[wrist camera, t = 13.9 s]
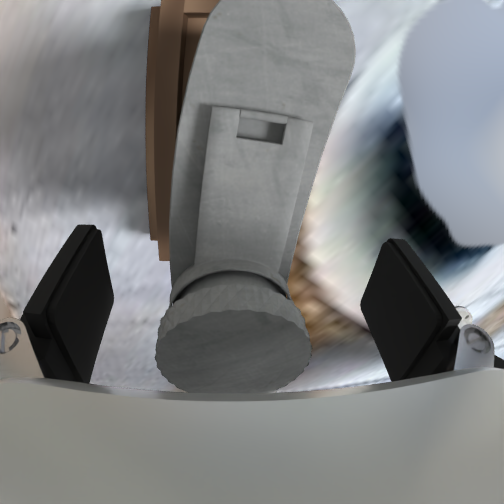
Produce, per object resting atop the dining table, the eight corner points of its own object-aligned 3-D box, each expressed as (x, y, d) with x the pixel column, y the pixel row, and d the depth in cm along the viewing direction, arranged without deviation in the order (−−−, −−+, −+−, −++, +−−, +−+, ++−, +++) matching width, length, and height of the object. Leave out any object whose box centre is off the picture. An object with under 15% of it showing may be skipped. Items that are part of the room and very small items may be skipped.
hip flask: (243, 224, 28) (278, 461, 12) (196, 223, 27) (185, 464, 11) (260, 35, 19) (432, -21, 3) (203, 32, 18) (130, -68, 2)
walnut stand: (313, 19, 19) (330, 14, 16) (279, 238, 30) (287, 264, 27) (154, 8, 17) (142, 0, 14) (152, 234, 29) (144, 260, 25)
